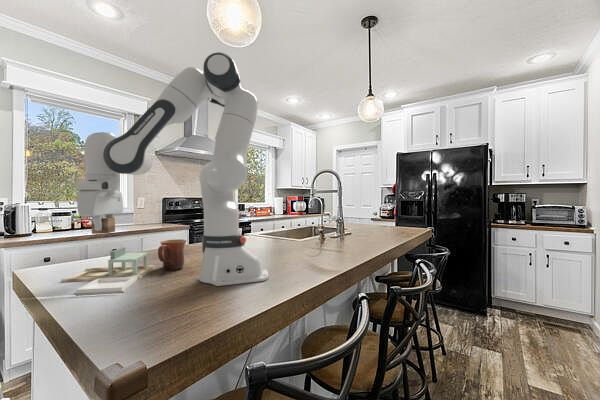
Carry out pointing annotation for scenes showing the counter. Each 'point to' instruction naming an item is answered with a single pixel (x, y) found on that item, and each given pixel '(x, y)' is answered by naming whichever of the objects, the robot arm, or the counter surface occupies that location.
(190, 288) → the counter surface
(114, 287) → the dish
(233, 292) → the counter surface
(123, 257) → the green stool
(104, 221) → the block
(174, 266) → the mug
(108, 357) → the counter surface
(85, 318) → the counter surface
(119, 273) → the board
